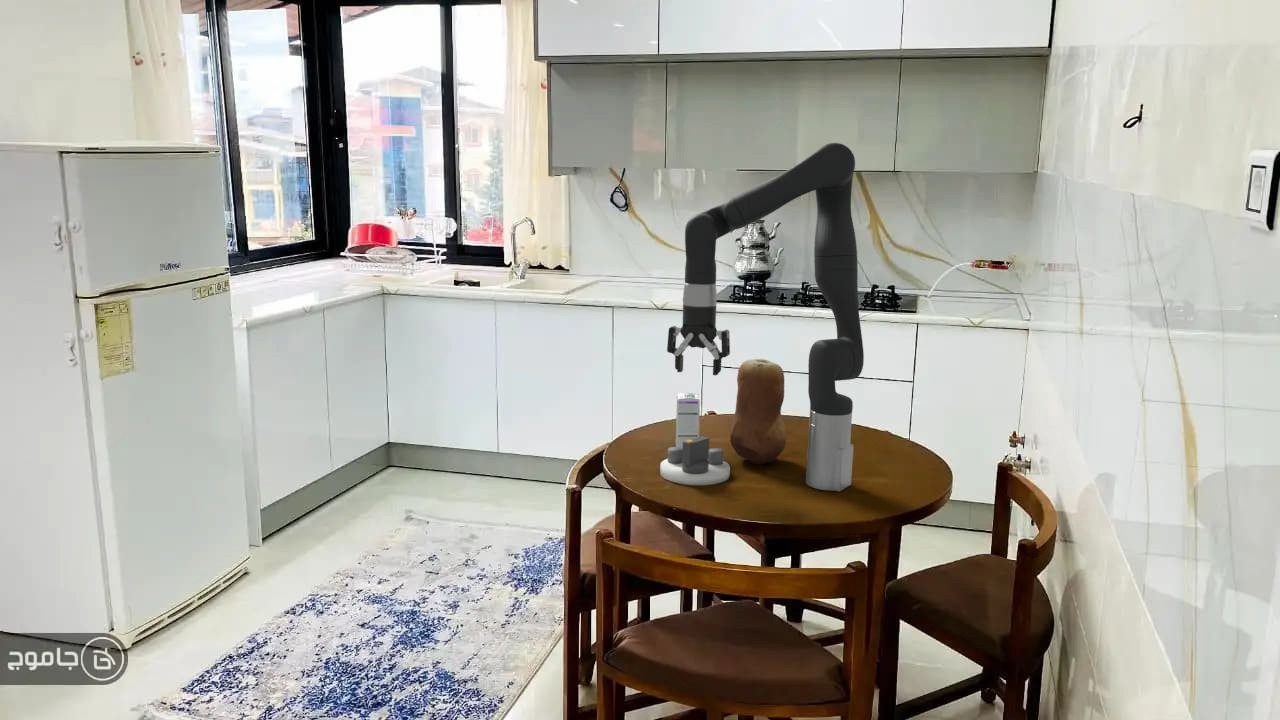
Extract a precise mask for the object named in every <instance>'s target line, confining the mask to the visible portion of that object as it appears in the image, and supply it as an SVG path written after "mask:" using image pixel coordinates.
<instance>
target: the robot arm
mask: <svg viewBox="0 0 1280 720" xmlns="http://www.w3.org/2000/svg"><path fill="white" fill-rule="evenodd" d="M854 155H855V154H854V153H853V152H852V150H851V149H850V148H849V147H848V146H846V145H845V144H843V143H839V142H831V143H826V144H825V145H823V146H820V147H819V148H818V150H816V151H815V152H813V153H812V154H810V155H809V156H808V157H806V158H805V159H803V160H802V161H800V162H799V163H798V164H795V165H794V166H793V167H791V168H789V169H788V170H786V171H784V172H782V173H781V174H778V175H776V176H775V177H773V178H770V179H768V180H766V181H764V182H762V183H759V184H757V185H755V186H752V187H751V188H749V189H746V190H744V191H742V192H740V193H739V194H737V195H735V196H733V197H730V198H729V199H727V200H726V201H724V202H723V203H721V204H719V205H716V206H714V207H711V208H709V209H707V210H704V211H702V212H699V213H697V214H696V215H694V216H692V217H690V218H689V220H688V221H687V222H686V224H685V230H684V234H685V235H684V245H685V246H684V247H685V249H684V250H685V258H686V259H685V266H684V286H683V287H684V288H683V294H682V295H683V296H682V326H681V327H677V326H676V325H673V326H670V327H669V328H668V333H667V345H666V348H667V349H666V351H667V353H668V354H672V355H674V368H675V370H676V372H677V373H682V372H683V371H684V355H683V353H684V352H685V351H686V349H688V348H689V347H690V348H699V349H705V348H706V349H707V350H708V352H709V353H710V354H711V355H712V357H713V362H712V363H713V364H712V375H713V376H718V375H719V373H721V372H722V371H721V370H722V359H723V358H727V357H728V356H730V354H731V351H730V350H731V345H730V341H731V340H730V330H729V329H725V330H717V327H716V324H717V323H716V321H717V296H718V295H717V293H718V292H717V284H716V283H717V262H716V249H717V248H716V247H717V240H718V239H719V238H721V237H723V236H726V235H728V234H729V233H731V232H732V231H735V230H739V229H740V230H741V228H745V227H747V226H749V225H752V224H753V223H756V222H757V221H760V220H761V219H763V218H765V217H767V216H769V215H770V214H772V213H774V212H775V211H777V210H780V209H781V208H782V207H784V206H786V205H787V204H789V203H790V202H791V201H794V200H795V199H797V198H800V197H801V196H804V195H806V194H808V193H812V192H814V191H815V198H816V208H817V209H816V210H817V211H816V213H817V215H816V225H815V227H816V228H815V234H814V246H813V247H814V252H813V254H814V255H813V256H814V257H813V259H814V261H813V262H814V278H815V283H816V284H817V288H818V289H819V291H820V293H821V295H822V297H823V298H824V300H825V301H826V302H827V304H828V306H829V307H830V308H829V309H831V312H832V314H833V317H834V320H835V325H836V338H831V339H829V338H828V339H827V338H826V339H819V340H816V341H815V342H813V344H812V346H811V348H810V349H809V353H808V383H807V385H808V397H809V403H810V404H809V420H808V421H809V422H808V423H809V424H808V425H809V426H808V441H807V457H806V473H805V475H806V476H805V483H806V485H807V486H809V488H810V487H811V488H813V489H816V490H821V491H836V492H841V491H843V490H844V489H846V488H848V487H850V486H851V484H852V475H853V462H854V461H853V460H854V444H852V443H851V434H852V421H853V418H852V417H853V409H854V405H853V399H852V398H850V397H849V396H847V395H845V394H842V393H839V392H837V390H836V382H837V381H839V382H841V381H851V380H855V379H857V378H859V376H860V375H861V373H862V372H863V369H864V359H865V358H864V357H865V356H864V355H865V354H864V353H865V352H864V344H863V342H864V341H863V334H862V328H861V320H860V311H859V307H860V306H859V292H858V291H859V289H858V286H859V285H858V279H859V278H858V277H859V276H858V275H859V273H858V248H857V240H856V239H857V237H856V232H855V228H854V221H853V217H852V190H853V189H852V188H853V177H854V174H855V173H854V172H855V169H856V159H855V156H854ZM679 335H681V336H682V338H683V340H682V342H681V343H680V344H679V346H678V347H677V337H678V336H679ZM717 336H718V339H719V341H721V350H720V349H719V348H718V345H717V343H716V342H715V340H714V339H716V337H717Z"/></svg>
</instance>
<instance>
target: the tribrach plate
mask: <svg viewBox="0 0 1280 720" xmlns="http://www.w3.org/2000/svg"><path fill="white" fill-rule="evenodd" d="M682 455H683V448H680V447H676V446H672V447H668V448H667V458H666V459H664V460H662V461H661V462H660V470H659V471H660V472H659V474H660V476H661V478H663V479H664V480H666V481H669V482H672V483H676V484H680V485H689V486H707V485H708V486H711V485H717V484H720V483H721V484H722V483H723V482H726V481H727V480H729V478H730V473H731V467H730V465H729V463H728V462H726V461H724V449H722V448H717V447H715V448H714V447H713V448H712V447H711V448H709V456H708V459H707V460H708V461H709V467H708V472H706V473H702V474H691V473H686V472H684V471H683V470H682Z"/></svg>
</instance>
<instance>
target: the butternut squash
mask: <svg viewBox="0 0 1280 720" xmlns="http://www.w3.org/2000/svg"><path fill="white" fill-rule="evenodd" d="M736 377H737V378H736V383H737V391H736V392H737V393H736V403H735V412H734V415H733V418H732V421H731V423H730V427H729V442H730V444H731V447H732V449H733V451H734V452H735V453H736V454H737V456H739V457H741V458H743V459H746V460H747V461H749V462H751V463H752V464H757V465H758V464H759V465H761V466H762V465H764V464H766V463H771V462H773V461H775V460H777V458H778V457H779V456H780V455H781V454H782V453H783V452H784V449H785V447H786V444H787V432H786V431H787V429H786V426H785V422H784V420H783V417H782V405H783V403H784V400H785V399H784V398H785V374H784V369H783V368H782V367H781V365H779V364H778V363H776V362H772V361H770V360H767V359H764V358H755V359H754V358H753V359H747V360H744V361H743V362H742V363H741V365H740V366H739V368H738V371H737V376H736Z"/></svg>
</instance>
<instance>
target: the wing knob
mask: <svg viewBox="0 0 1280 720" xmlns="http://www.w3.org/2000/svg"><path fill="white" fill-rule="evenodd" d="M709 449H710V437H706V436H704V435H702V436H699V437H698V438H695V439H692V440H687V441H685V442H683V455H682V470H683V471H684V472H686V473H691V474H702V473H706V472H708V467H709V461H708V460H707V459H708V456H709Z"/></svg>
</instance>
